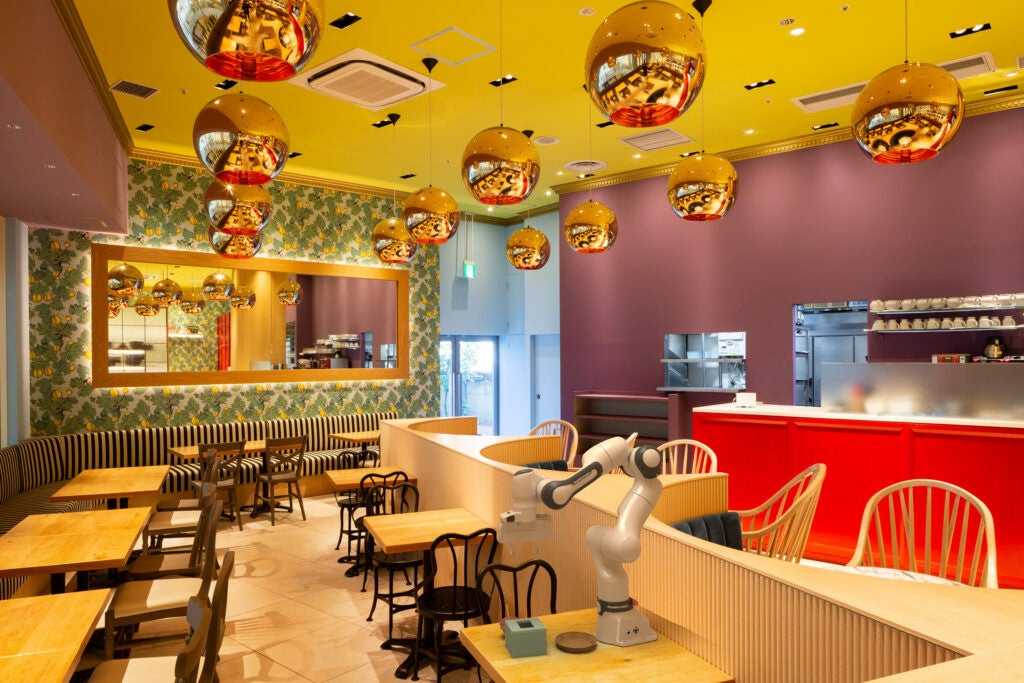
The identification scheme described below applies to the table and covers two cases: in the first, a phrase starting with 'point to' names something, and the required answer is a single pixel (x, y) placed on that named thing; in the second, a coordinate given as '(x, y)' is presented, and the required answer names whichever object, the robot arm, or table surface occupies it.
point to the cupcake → (502, 623)
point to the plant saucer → (575, 641)
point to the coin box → (525, 637)
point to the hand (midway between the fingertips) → (524, 553)
